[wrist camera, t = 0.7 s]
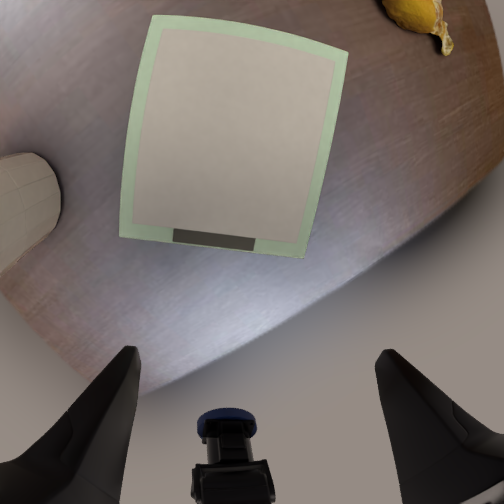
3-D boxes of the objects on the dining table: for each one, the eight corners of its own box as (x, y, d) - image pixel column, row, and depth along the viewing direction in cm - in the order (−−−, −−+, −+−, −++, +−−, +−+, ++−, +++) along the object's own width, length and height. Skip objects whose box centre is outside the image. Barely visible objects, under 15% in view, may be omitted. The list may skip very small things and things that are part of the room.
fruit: (454, 60, 16) (482, 57, 13) (380, 41, 16) (408, 30, 12) (436, -14, 13) (460, -24, 10) (361, -40, 12) (382, -58, 9)
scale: (295, 246, 21) (306, 263, 19) (127, 226, 19) (115, 240, 16) (335, 58, 16) (353, 50, 13) (158, 26, 14) (151, 10, 11)
